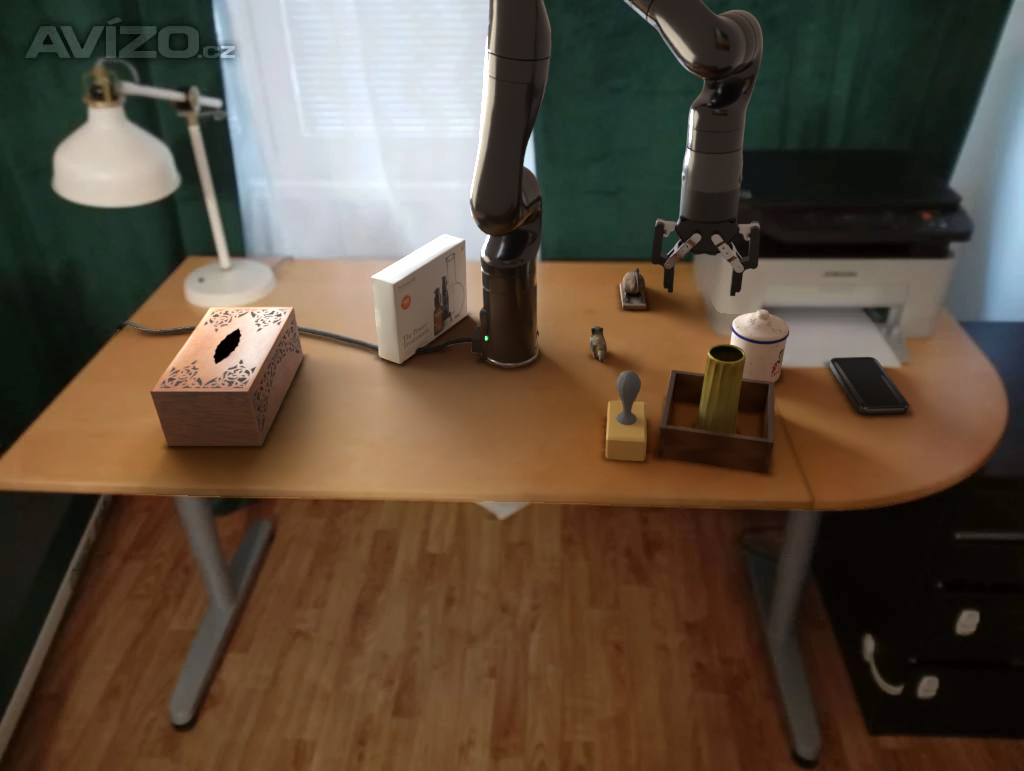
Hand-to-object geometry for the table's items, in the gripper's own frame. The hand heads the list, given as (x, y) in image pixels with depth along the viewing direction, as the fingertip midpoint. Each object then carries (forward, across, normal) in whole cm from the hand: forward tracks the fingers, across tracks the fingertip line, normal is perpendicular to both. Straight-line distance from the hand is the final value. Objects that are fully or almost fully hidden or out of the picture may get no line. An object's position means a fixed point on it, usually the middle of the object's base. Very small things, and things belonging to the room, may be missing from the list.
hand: (701, 292), depth 115 cm
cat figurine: (+22, +16, -16) cm, 31 cm away
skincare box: (+21, +48, -17) cm, 55 cm away
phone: (+22, -28, -14) cm, 38 cm away
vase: (+22, -4, +3) cm, 23 cm away
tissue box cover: (+20, +72, +7) cm, 76 cm away
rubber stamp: (+22, +9, +7) cm, 25 cm away
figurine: (+22, +12, -37) cm, 44 cm away
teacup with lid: (+22, -10, -16) cm, 29 cm away
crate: (+22, -4, +3) cm, 22 cm away
